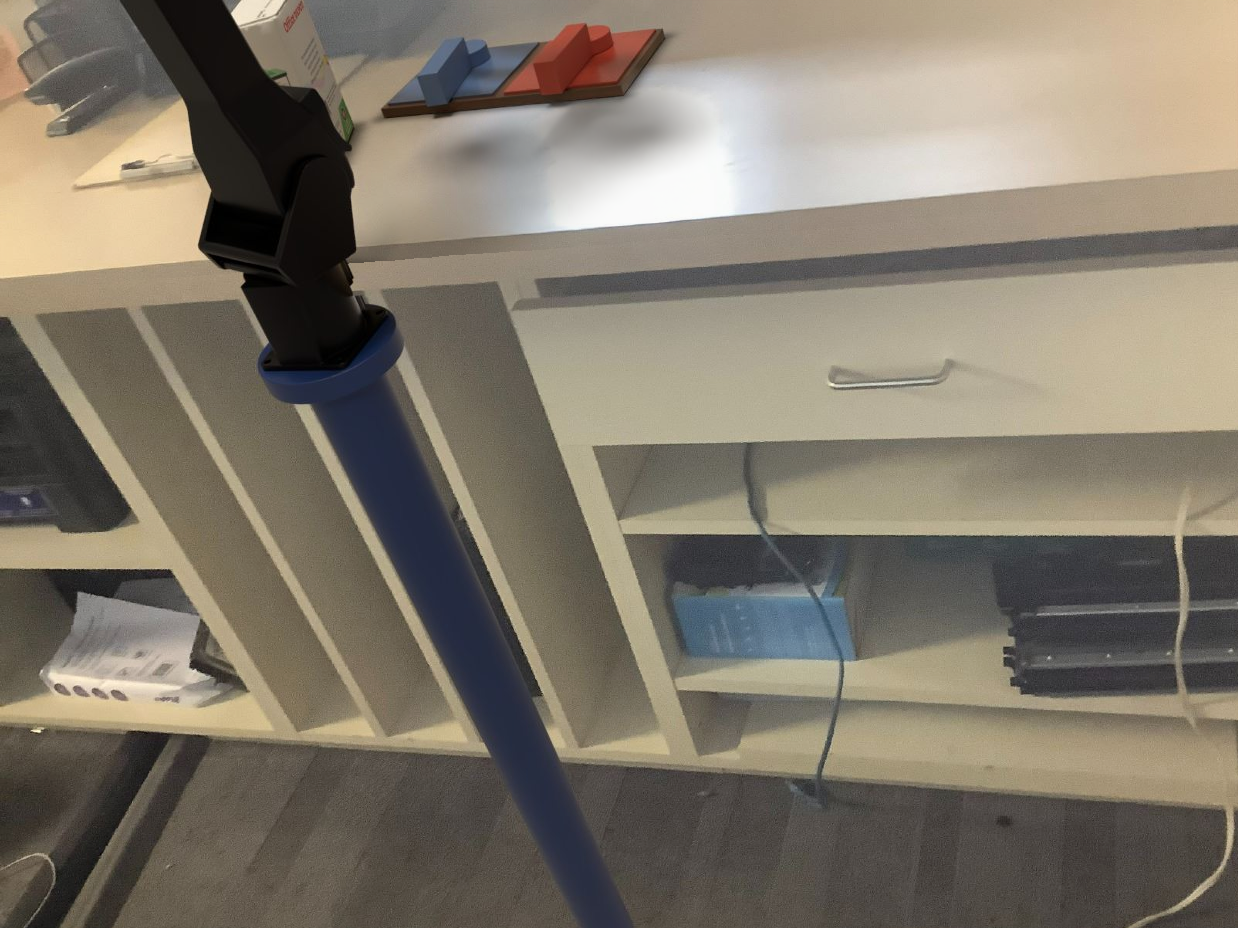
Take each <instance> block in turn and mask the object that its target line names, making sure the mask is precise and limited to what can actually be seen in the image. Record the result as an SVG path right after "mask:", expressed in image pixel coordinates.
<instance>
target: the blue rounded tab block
mask: <svg viewBox="0 0 1238 928" xmlns="http://www.w3.org/2000/svg"><path fill="white" fill-rule="evenodd" d="M489 58H490V53H489V50H488V44H487V41H486V40H484V39H477V38H476V39H467V40H466V39H465V37H464V36H459V37H453V38H448V39H444V40H443V41H442V42H441V44H440V45H439V47H438V48H437V49H436V50H435V52H434V53H433V54H432V55H431V57H430V58H429V59H428V60H427V62H426V63H425V65H424V66H423V67H422V68H421V69H420V70H419V72H418V73H419V74H418V73H417V74H418V75H417V74H416V75H417V79H418V81H419V84H420V87H421V90H422V93H423V95H424V98H425V101H426V104H427V107H430V106H436V105H443V104H448V102H449V101H450V99H451V98H452V96H453V95H454V93H455V92H456V91H457V89H458V88H459V86H460V85H461V83H462V82H463V81H464V79H465V78H466V76H467V75H468V73H469V72H470V70H471V69H472V68H473V67H476V66H478V65H481V64H483V63H484V62H486V61H487V60H488V59H489Z"/></svg>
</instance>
